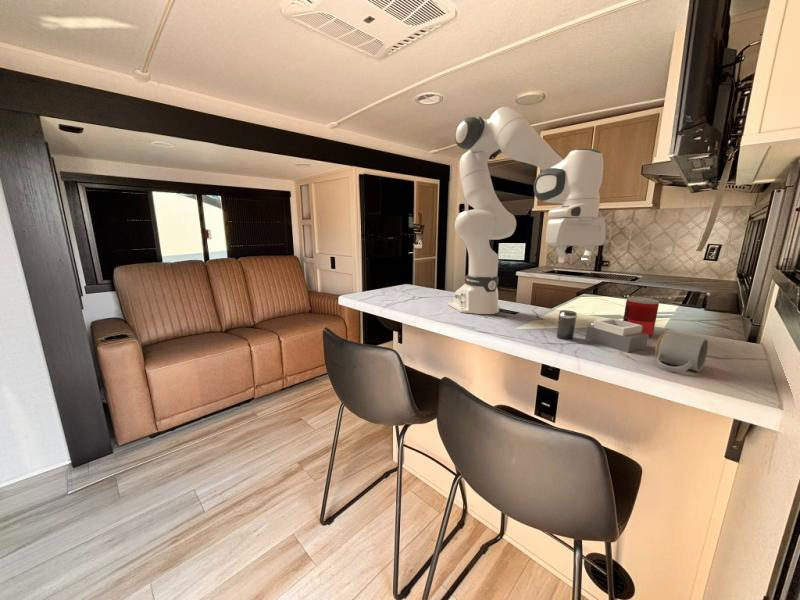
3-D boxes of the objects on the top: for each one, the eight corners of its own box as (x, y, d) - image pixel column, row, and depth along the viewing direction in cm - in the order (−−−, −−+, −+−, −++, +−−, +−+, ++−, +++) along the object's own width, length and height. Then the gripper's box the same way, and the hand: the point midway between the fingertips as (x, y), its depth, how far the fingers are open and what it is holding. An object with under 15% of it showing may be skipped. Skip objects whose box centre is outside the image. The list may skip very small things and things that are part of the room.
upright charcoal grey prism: (552, 336, 94) (555, 311, 93) (563, 334, 96) (566, 309, 94) (566, 341, 90) (569, 314, 88) (577, 339, 92) (580, 313, 90)
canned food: (659, 337, 94) (666, 302, 92) (633, 337, 94) (639, 301, 92) (640, 329, 102) (645, 296, 99) (615, 329, 102) (621, 296, 99)
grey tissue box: (585, 338, 93) (588, 319, 91) (602, 335, 96) (605, 316, 94) (628, 352, 82) (632, 330, 81) (646, 348, 85) (650, 327, 84)
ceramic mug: (661, 355, 80) (667, 327, 78) (704, 367, 73) (711, 336, 72) (646, 366, 74) (651, 335, 72) (691, 379, 67) (698, 346, 66)
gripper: (593, 213, 93) (588, 260, 95) (543, 211, 84) (539, 262, 87) (615, 212, 87) (608, 261, 90) (564, 209, 79) (559, 264, 81)
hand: (574, 262), depth 88 cm, fingers open, 8 cm apart
